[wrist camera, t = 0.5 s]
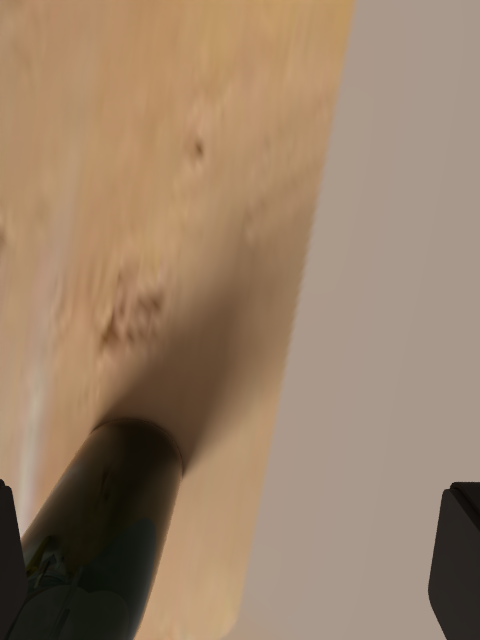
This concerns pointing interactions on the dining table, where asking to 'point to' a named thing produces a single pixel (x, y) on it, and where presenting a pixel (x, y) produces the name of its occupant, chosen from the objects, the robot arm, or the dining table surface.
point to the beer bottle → (100, 537)
